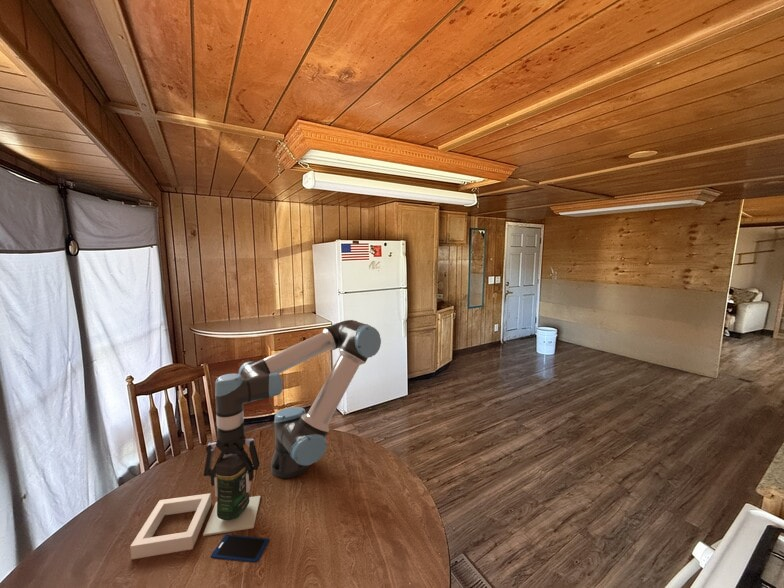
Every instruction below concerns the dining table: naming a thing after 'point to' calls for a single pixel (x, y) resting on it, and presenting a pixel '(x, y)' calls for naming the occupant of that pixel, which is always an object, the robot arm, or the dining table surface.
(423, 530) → the dining table surface
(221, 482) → the coffee jar
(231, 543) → the cell phone
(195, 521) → the cream open rectangular frame
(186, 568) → the dining table surface
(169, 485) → the dining table surface
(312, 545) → the dining table surface
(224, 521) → the beige board
